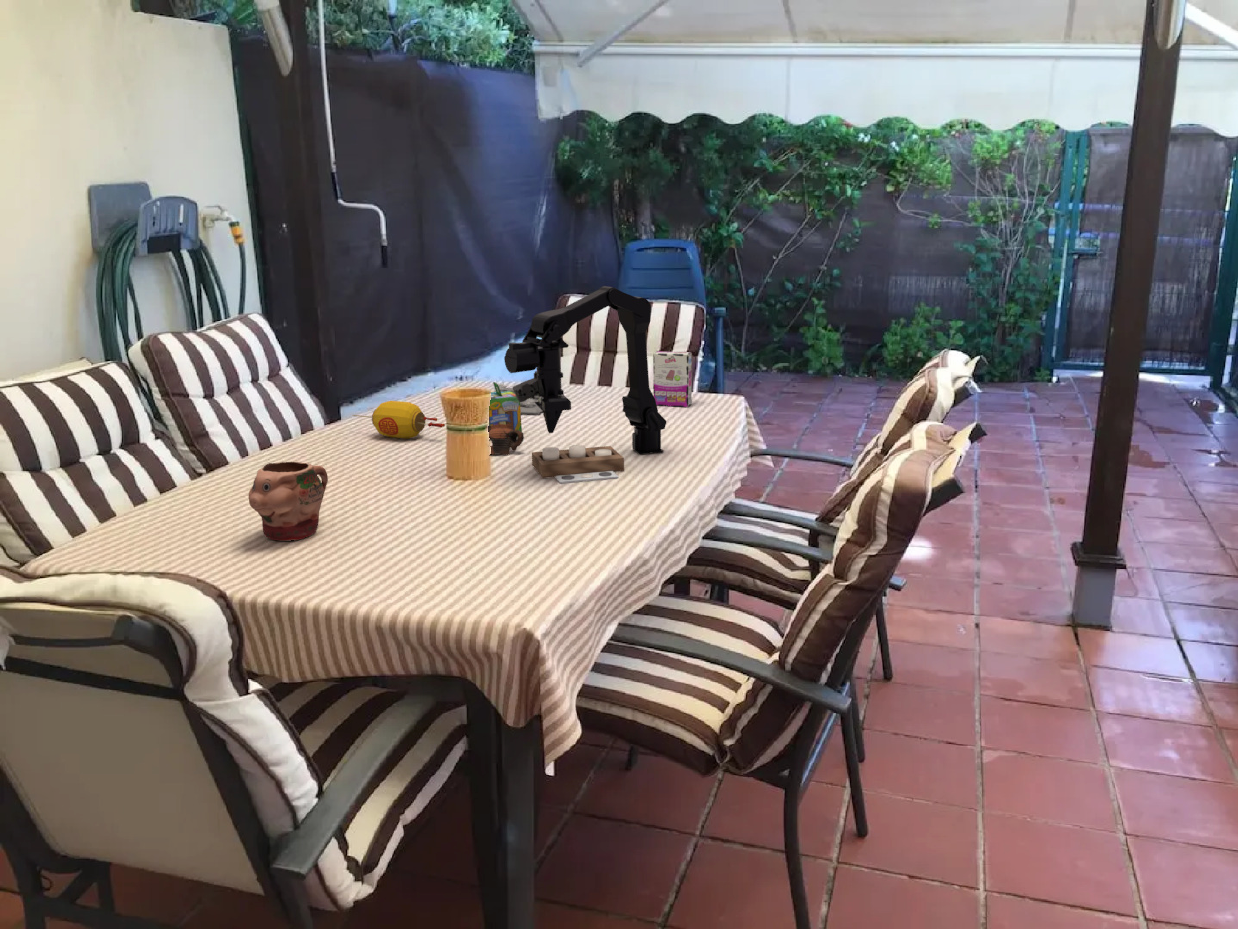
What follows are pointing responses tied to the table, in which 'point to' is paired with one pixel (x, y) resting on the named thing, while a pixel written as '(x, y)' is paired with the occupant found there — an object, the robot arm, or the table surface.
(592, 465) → the button board
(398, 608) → the table surface
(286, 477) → the pink animal face cup
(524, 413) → the decorative plate
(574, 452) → the button middle
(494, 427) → the pottery mug
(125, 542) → the table surface
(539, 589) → the table surface
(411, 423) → the lantern
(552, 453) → the button
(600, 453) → the button
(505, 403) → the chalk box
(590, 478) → the card
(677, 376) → the candy bar box
